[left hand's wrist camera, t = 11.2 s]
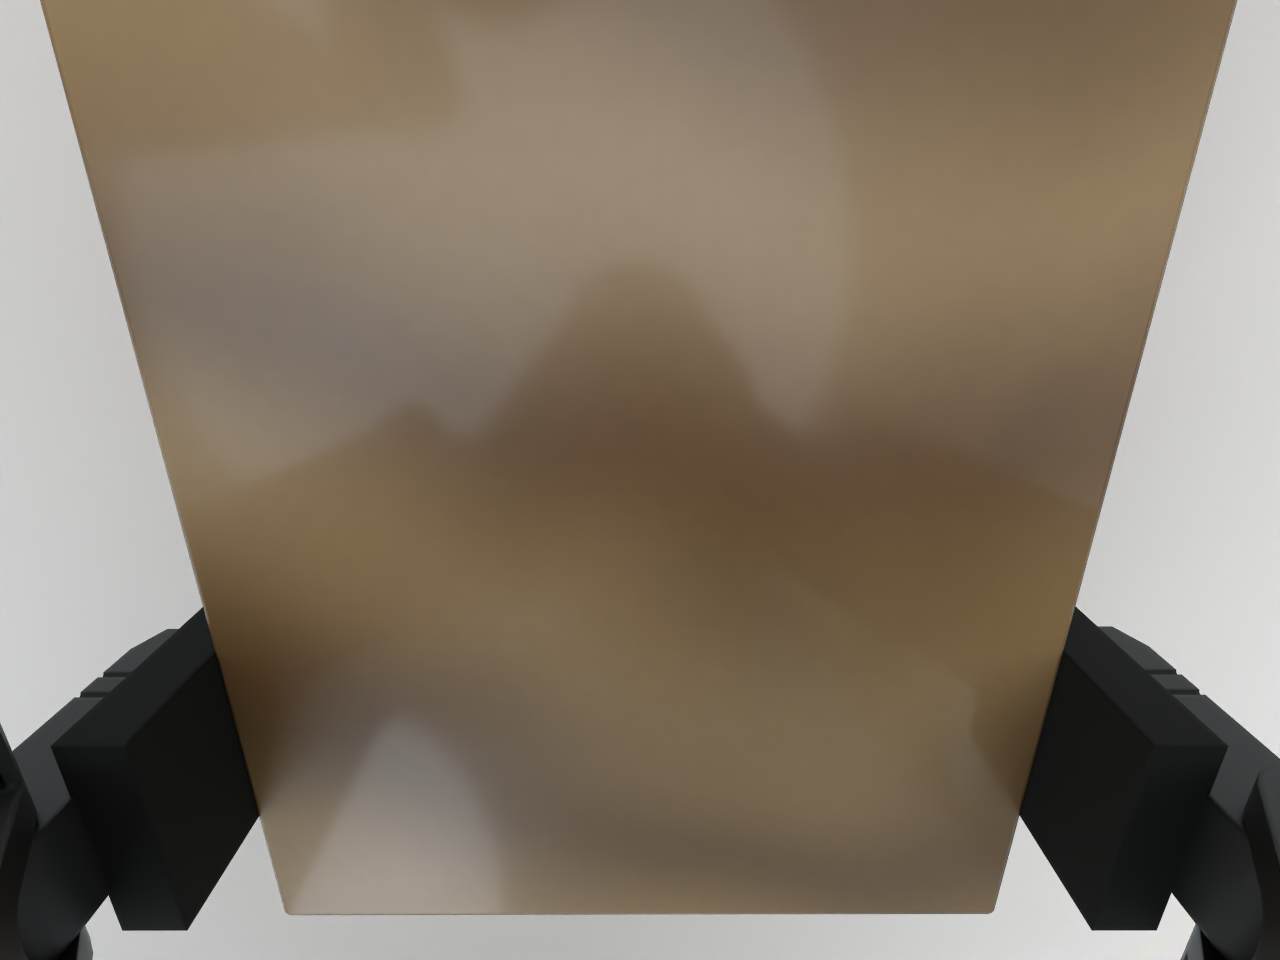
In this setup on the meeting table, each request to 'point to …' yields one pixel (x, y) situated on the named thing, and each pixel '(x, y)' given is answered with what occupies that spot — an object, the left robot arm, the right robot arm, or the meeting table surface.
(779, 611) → the cabinet
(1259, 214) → the meeting table surface
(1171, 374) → the meeting table surface
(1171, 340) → the meeting table surface
